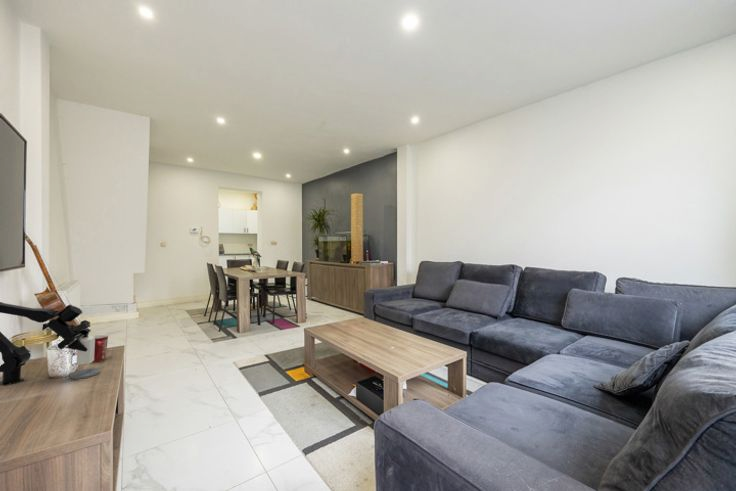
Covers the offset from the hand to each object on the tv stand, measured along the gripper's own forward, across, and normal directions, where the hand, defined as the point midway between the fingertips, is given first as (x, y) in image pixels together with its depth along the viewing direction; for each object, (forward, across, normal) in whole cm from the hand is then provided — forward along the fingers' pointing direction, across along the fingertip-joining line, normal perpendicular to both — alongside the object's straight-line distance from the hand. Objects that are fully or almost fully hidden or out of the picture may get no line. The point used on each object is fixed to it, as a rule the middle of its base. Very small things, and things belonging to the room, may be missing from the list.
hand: (89, 349), depth 155 cm
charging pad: (+8, 0, +10) cm, 13 cm away
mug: (+6, +22, +12) cm, 26 cm away
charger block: (+4, 0, +6) cm, 7 cm away
